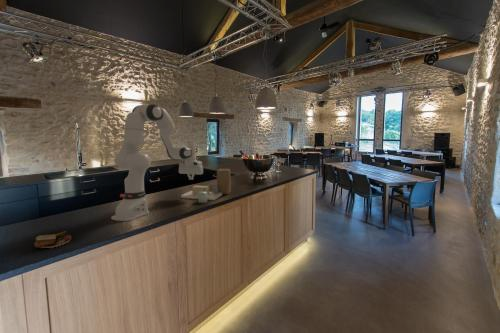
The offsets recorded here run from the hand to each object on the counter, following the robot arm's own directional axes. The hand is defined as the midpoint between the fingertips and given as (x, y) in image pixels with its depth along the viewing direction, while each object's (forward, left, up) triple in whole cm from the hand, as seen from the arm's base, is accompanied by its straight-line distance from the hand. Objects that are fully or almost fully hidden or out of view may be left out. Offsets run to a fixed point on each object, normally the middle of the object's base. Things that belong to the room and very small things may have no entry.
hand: (191, 179), depth 198 cm
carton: (0, -2, -8) cm, 9 cm away
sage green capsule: (-13, -16, -13) cm, 24 cm away
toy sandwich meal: (-94, +20, -14) cm, 97 cm away
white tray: (0, -9, -13) cm, 16 cm away
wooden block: (+15, -22, -14) cm, 30 cm away
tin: (+5, -19, -11) cm, 23 cm away
